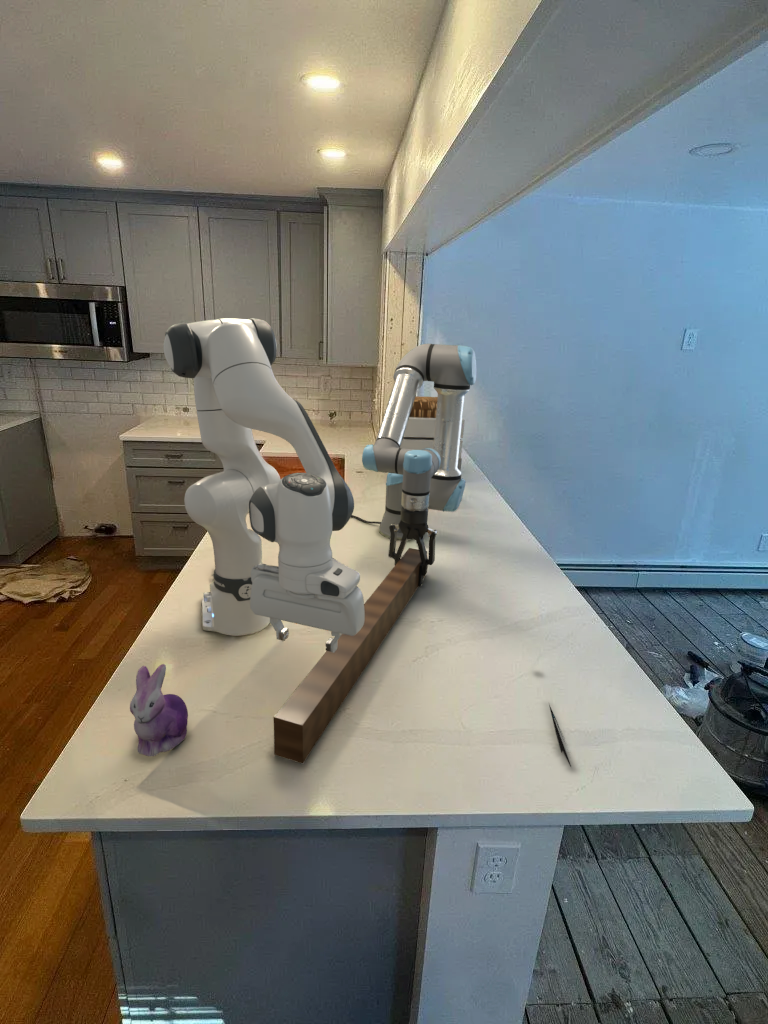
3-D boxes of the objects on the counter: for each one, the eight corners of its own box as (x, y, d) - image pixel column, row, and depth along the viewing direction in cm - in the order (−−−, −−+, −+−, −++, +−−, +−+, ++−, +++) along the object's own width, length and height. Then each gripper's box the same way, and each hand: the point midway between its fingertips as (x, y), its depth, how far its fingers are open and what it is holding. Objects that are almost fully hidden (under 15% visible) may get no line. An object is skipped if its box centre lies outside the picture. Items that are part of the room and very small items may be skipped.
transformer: (382, 463, 289) (386, 382, 275) (445, 464, 293) (451, 384, 279) (390, 482, 257) (394, 392, 243) (460, 483, 261) (468, 394, 247)
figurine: (137, 767, 96) (127, 693, 90) (132, 728, 104) (122, 659, 99) (195, 750, 100) (189, 678, 95) (185, 714, 108) (179, 646, 103)
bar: (407, 572, 171) (409, 547, 168) (425, 576, 169) (427, 551, 166) (274, 754, 100) (273, 716, 97) (302, 763, 98) (302, 725, 95)
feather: (538, 678, 126) (544, 672, 125) (570, 771, 99) (578, 764, 99) (532, 674, 126) (537, 668, 125) (563, 766, 99) (570, 759, 98)
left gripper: (240, 568, 94) (244, 641, 99) (354, 591, 88) (353, 667, 93) (260, 554, 100) (263, 623, 104) (369, 574, 94) (367, 647, 98)
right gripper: (378, 506, 155) (375, 581, 163) (444, 516, 150) (437, 594, 158) (387, 498, 162) (383, 571, 170) (451, 507, 156) (444, 583, 164)
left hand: (306, 644), depth 98 cm, fingers open, 8 cm apart
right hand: (409, 582), depth 164 cm, fingers closed on bar, 6 cm apart
